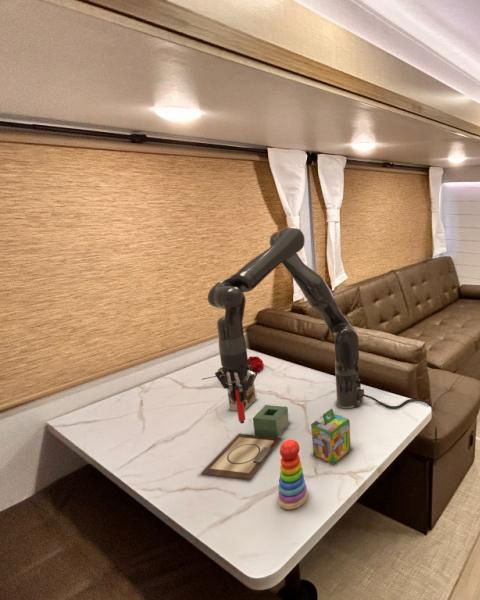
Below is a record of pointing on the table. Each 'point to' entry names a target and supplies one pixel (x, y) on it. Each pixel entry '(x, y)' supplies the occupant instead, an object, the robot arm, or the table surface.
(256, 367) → the flower
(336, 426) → the chalk box
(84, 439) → the table surface
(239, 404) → the marker
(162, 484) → the table surface
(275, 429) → the pen holder
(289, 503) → the stacking toy
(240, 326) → the robot arm
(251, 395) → the coffee box
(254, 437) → the clipboard
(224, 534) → the table surface
